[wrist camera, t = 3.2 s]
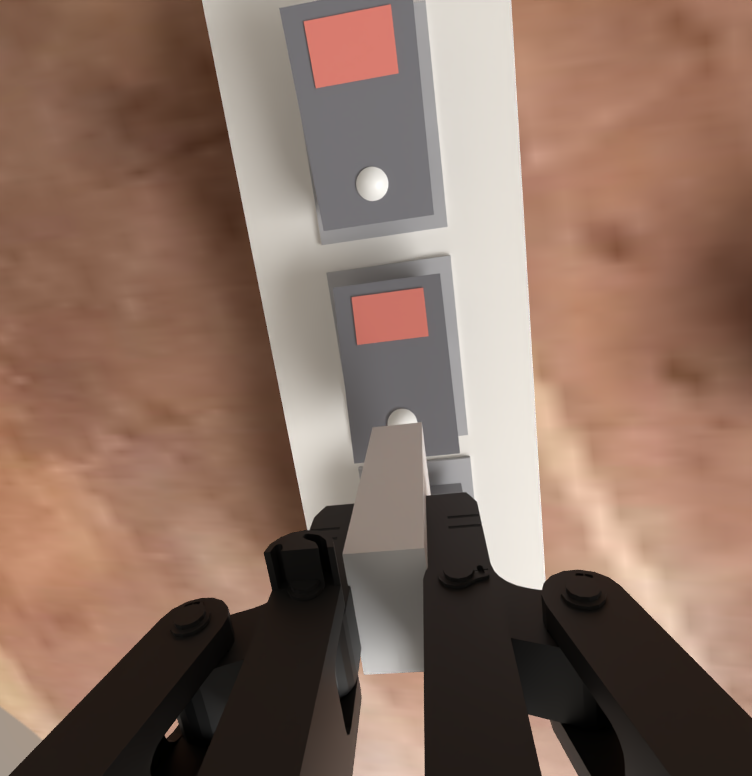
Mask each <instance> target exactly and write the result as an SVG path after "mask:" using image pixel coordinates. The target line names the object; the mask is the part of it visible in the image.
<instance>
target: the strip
mask: <svg viewBox="0 0 752 776" xmlns="http://www.w3.org/2000/svg"><path fill="white" fill-rule="evenodd" d="M312 1H317V0H202V3H203V8H204V13H205V18H206V23H207V28H208V33H209V38H210V43H211V48H212V53H213V58H214V63H215V68H216V73H217V78H218V83H219V88H220V93H221V99H222V104H223V109H224V114H225V119H226V124H227V129H228V134H229V139H230V144H231V149H232V154H233V159H234V164H235V169H236V174H237V179H238V184H239V189H240V194H241V199H242V204H243V209H244V214H245V219H246V224H247V229H248V234H249V239H250V244H251V249H252V254H253V259H254V264H255V269H256V274H257V279H258V284H259V289H260V294H261V299H262V304H263V310H264V315H265V320H266V325H267V330H268V335H269V340H270V345H271V350H272V355H273V360H274V365H275V370H276V375H277V380H278V385H279V390H280V395H281V400H282V405H283V410H284V415H285V420H286V425H287V430H288V435H289V440H290V445H291V450H292V455H293V460H294V465H295V470H296V475H297V480H298V485H299V490H300V495H301V500H302V505H303V510H304V515H305V521H306V526H307V530H310V527H311V525H312V522H313V519H314V517H315V516H316V515H317V514H318V513H319V512H320V511H321V510H322V509H323V508H324V507H326V506H331V505H343V504H354V503H355V499H356V495H357V491H358V487H359V482H360V478H361V474H362V470H363V465H364V463H355V464H354V458H353V450H352V441H351V433H350V425H349V417H348V409H347V400H346V392H345V384H344V376H343V368H342V359H341V351H340V343H339V335H338V326H337V318H336V310H335V302H334V294H333V288H335V287H342V286H350V285H357V284H364V283H372V282H379V281H386V280H394V279H401V278H408V277H416V276H423V275H430V274H438V273H440V277H441V286H442V295H443V304H444V313H445V322H446V331H447V340H448V349H449V358H450V367H451V376H452V385H453V394H454V403H455V412H456V421H457V430H458V439H459V448H460V453H459V454H448V455H438V456H428V457H426V460H427V469H428V477H429V485H430V486H431V485H442V484H454V483H461V486H462V490H463V492H467V493H468V494H469V495H470V496H471V497H472V498H473V499H475V500H476V501H477V504H478V508H479V513H480V517H481V522H482V527H483V531H484V536H485V540H486V545H487V549H488V554H489V558H490V563H491V565H492V567H493V569H494V571H495V572H496V573H497V574H498V576H500V577H501V578H503V579H504V580H506V581H508V582H510V583H512V584H515V585H518V586H522V587H526V588H532V589H538V590H542V587H543V583H544V582H545V564H544V548H543V531H542V514H541V497H540V480H539V463H538V446H537V430H536V413H535V396H534V379H533V362H532V345H531V328H530V312H529V295H528V278H527V261H526V244H525V227H524V210H523V194H522V177H521V160H520V143H519V126H518V109H517V92H516V76H515V59H514V42H513V25H512V8H511V0H413V4H414V15H415V25H416V35H417V46H418V56H419V66H420V76H421V87H422V97H423V107H424V118H425V128H426V138H427V148H428V159H429V169H430V179H431V189H432V200H433V210H434V215H429V216H422V217H416V218H409V219H402V220H396V221H389V222H382V223H375V224H369V225H362V226H355V227H349V228H342V229H335V230H329V231H324V230H323V225H322V220H321V215H320V210H319V205H318V200H317V195H316V190H315V185H314V180H313V175H312V170H311V165H310V160H309V155H308V150H307V145H306V140H305V135H304V130H303V125H302V120H301V115H300V110H299V105H298V100H297V95H296V90H295V85H294V80H293V75H292V70H291V65H290V60H289V55H288V50H287V45H286V40H285V35H284V30H283V25H282V20H281V15H280V10H279V8H283V7H287V6H292V5H297V4H302V3H307V2H312Z"/></svg>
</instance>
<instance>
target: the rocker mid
mask: <svg viewBox="0 0 752 776" xmlns="http://www.w3.org/2000/svg"><path fill="white" fill-rule="evenodd" d="M333 294H334V302H335V310H336V318H337V326H338V335H339V343H340V351H341V359H342V368H343V376H344V384H345V392H346V400H347V409H348V417H349V425H350V433H351V441H352V450H353V458H354V464H355V463H364V461H365V457H366V453H367V449H368V444H369V440H370V436H371V432H372V428H373V427H381V426H390V425H400V424H409V423H419V422H422V428H423V436H424V444H425V452H426V457H428V456H438V455H448V454H459V453H460V448H459V439H458V430H457V421H456V412H455V403H454V394H453V385H452V376H451V367H450V358H449V349H448V340H447V331H446V322H445V313H444V304H443V295H442V286H441V277H440V273H438V274H430V275H423V276H416V277H408V278H401V279H394V280H386V281H379V282H372V283H364V284H357V285H350V286H342V287H335V288H333Z"/></svg>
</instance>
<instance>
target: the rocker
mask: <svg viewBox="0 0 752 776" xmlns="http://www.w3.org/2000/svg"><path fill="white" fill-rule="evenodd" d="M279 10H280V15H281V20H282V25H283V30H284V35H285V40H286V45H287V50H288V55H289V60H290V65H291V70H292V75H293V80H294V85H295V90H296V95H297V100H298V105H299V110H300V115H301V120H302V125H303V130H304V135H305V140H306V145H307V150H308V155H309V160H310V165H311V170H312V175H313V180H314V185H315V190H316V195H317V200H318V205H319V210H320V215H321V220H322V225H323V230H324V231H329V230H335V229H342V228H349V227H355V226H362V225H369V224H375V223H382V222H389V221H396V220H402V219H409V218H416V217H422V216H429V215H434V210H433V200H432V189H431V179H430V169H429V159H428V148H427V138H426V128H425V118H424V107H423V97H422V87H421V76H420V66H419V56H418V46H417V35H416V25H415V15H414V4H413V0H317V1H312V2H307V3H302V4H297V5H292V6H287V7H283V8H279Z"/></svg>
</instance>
